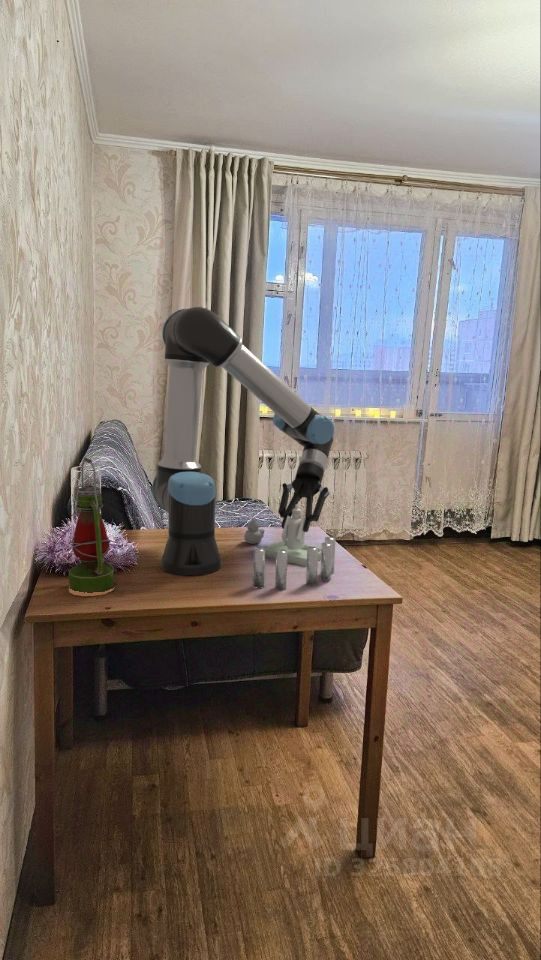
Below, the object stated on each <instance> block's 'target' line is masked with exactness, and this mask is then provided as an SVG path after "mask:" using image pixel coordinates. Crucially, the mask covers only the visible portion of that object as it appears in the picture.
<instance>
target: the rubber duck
mask: <svg viewBox="0 0 541 960" xmlns="http://www.w3.org/2000/svg"><path fill="white" fill-rule="evenodd" d="M259 527H260V525H259V523H258V521H256V519H254V517H253V516H252V517H251V519H250V521H249V522H248V524H247V526H246V528H247V529H246V531H245V533H244V536H243V540H244V541H246V542H247V544H252V545H253V544H254V545H255V544H257V543H260V542H261V541H262V539H263V538H264V535H265V531H266V530H265V529H263V528H259Z"/></svg>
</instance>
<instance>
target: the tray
mask: <svg viewBox="0 0 541 960" xmlns="http://www.w3.org/2000/svg"><path fill="white" fill-rule="evenodd" d="M308 547H317V548H318V561H321V549H322V547H319V546H315V545H311V544H310V545H309V544H305V545H304V547H303V548H301V549H298V550H290V549H288V548H287V541H286V542H283V540H281V541H279V542H277V543H273V544H270V545H267V546H266V547H263V549H265V556H266V557H265V558H269V557H270V558H271V559H274V560H276V551H277V550H287V563H291V564H294V565H299V566H303V567H307V548H308Z"/></svg>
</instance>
